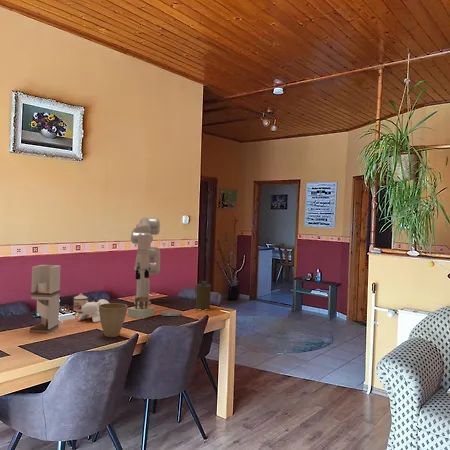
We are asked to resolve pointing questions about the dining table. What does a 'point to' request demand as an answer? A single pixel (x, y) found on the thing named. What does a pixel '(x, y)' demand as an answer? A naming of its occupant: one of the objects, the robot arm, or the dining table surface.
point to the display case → (46, 296)
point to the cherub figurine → (92, 310)
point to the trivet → (170, 313)
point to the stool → (141, 301)
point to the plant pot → (112, 318)
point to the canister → (203, 296)
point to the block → (140, 312)
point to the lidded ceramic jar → (79, 302)
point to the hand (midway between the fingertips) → (142, 278)
